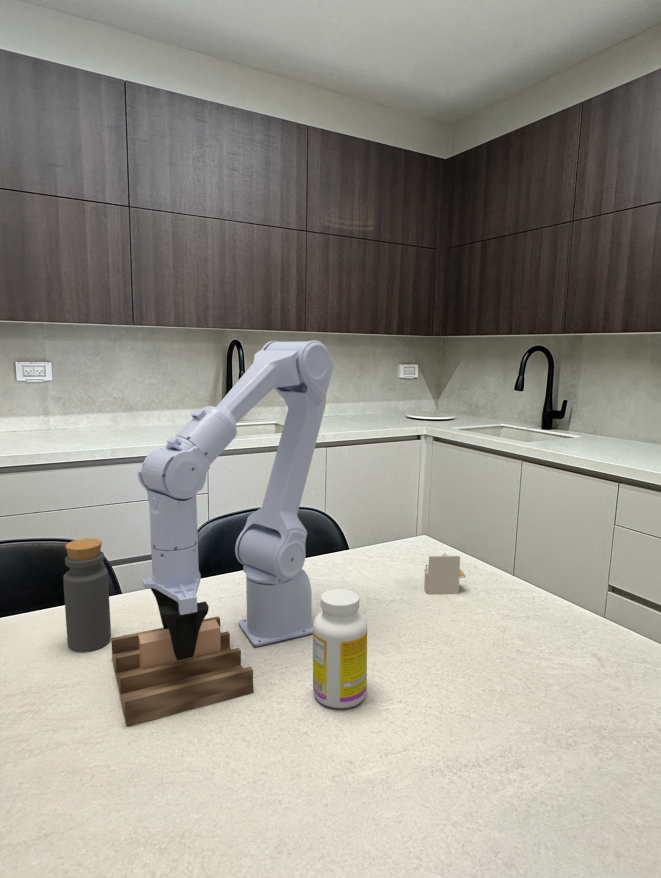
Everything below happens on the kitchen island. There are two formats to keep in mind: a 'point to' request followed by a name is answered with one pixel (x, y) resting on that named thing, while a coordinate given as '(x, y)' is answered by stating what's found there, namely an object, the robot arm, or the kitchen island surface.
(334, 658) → the supplement bottle
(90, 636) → the bottle
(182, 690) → the rack
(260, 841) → the kitchen island surface
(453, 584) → the architectural model
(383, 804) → the kitchen island surface
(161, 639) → the peach rectangular block
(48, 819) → the kitchen island surface
